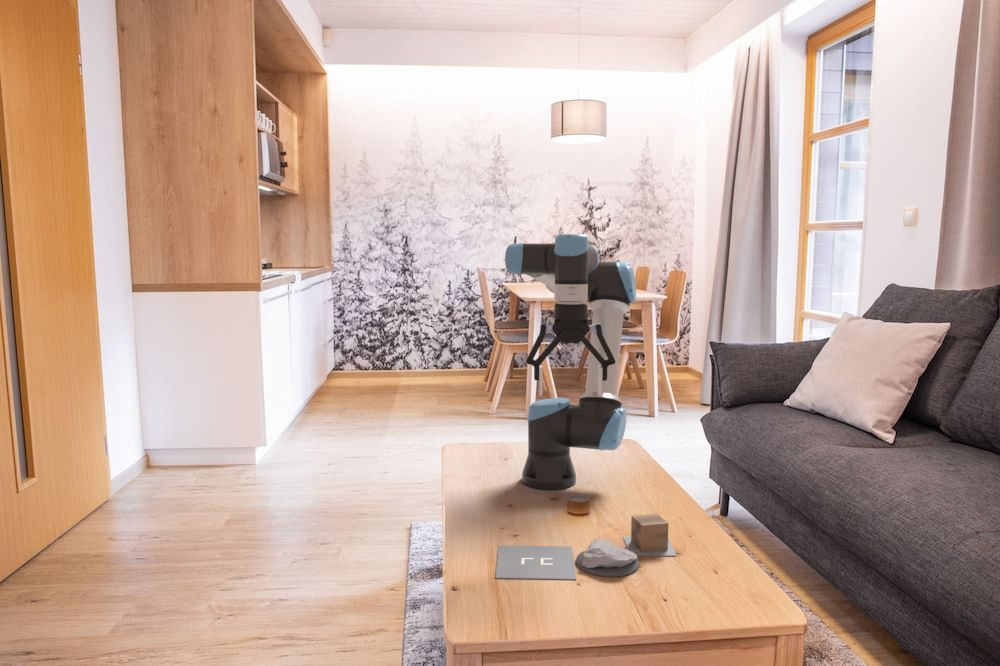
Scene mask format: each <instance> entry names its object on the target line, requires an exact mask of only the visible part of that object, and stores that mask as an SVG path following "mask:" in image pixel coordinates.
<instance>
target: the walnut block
mask: <svg viewBox="0 0 1000 666" xmlns="http://www.w3.org/2000/svg"><path fill="white" fill-rule="evenodd" d="M630 516H631V522H630V525H631V526H630V527H631V528H630V531H631V533H630V537H631V542H632V543H633V544H634V545H635V546H636V547H637V548H638V549H639V550H640V551H641V552H652V551H662V550H668V538H669V522H667V521H666V520H665V519H664V518H663V517H662V516H661V515H659V514H658V513H648V514H636V515H634V514H633V515H630Z"/></svg>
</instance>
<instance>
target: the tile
mask: <svg viewBox="0 0 1000 666" xmlns="http://www.w3.org/2000/svg"><path fill="white" fill-rule="evenodd" d="M623 540H624V544H625V547H626V549H628V550H630V551H633V553H635V554H636V555H637V557H677V554H676V551H675V550H674V547H673V545H672V542H671V541H670V539H669V537H668V550H662V551H652V552H641V551H640V550H639V549H638V548H637V547H636V546H635V545H634V544H633V543H632V542H631V536H623Z"/></svg>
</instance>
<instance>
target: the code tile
mask: <svg viewBox="0 0 1000 666" xmlns="http://www.w3.org/2000/svg"><path fill="white" fill-rule="evenodd" d="M573 553H574V552H573V546H570V545H569V546H568V545H566V546H565V545H564V546H563V545H562V546H561V545H559V546H558V545H500V544H499V545H498V551H497V560H496V566H495V567H496V568H495V578H494V579H497V580H499V579H502V580H503V579H505V580H507V579H508V580H551V581H552V580H554V581H555V580H557V581H558V580H559V581H561V580H562V581H563V580H565V581H568V580H569V581H577V576H576V569H575V568H576V567H575V562H574V561H575V559H574V554H573Z"/></svg>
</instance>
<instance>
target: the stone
mask: <svg viewBox="0 0 1000 666" xmlns="http://www.w3.org/2000/svg"><path fill="white" fill-rule="evenodd" d="M584 551H585V553H584V555H583V560H582V566H585V567H587V568H592V567H606V568H609V567H623V566H625V565H628V564H630V563H632V562H633V561H635V560H636V559H638V556H637V555H636V554H635V553H633V551H630V550H628V549H627V548H624V547H622V546H618V545H616V544H615V543H614V542H612V541H611V540H609V539H600V538H597V537H596V538H594V539H593V540H592V541H590V543H589V545H588V547H587V549H586V550H584Z"/></svg>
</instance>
